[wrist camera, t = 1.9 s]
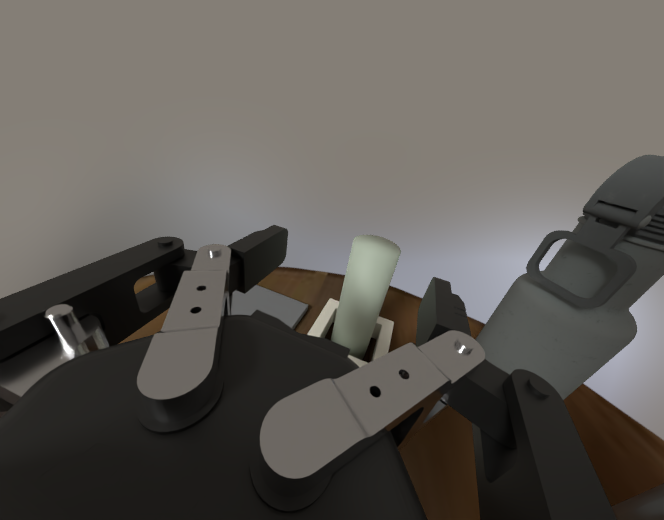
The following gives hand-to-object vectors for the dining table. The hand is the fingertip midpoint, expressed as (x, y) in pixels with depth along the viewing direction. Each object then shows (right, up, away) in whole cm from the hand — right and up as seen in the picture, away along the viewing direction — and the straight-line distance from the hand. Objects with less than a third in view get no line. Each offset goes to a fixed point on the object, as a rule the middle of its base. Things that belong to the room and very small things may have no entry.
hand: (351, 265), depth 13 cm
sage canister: (+1, -12, +20) cm, 23 cm away
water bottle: (+21, -16, +19) cm, 33 cm away
